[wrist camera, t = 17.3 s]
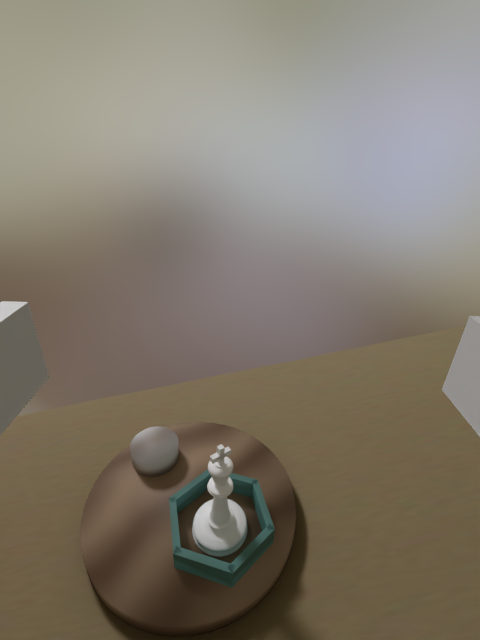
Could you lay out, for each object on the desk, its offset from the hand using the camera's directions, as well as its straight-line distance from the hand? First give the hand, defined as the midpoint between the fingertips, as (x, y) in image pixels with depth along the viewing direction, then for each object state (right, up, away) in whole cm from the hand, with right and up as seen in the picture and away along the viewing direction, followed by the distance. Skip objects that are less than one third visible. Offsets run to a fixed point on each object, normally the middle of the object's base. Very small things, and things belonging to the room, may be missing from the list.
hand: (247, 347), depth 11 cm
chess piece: (-2, -18, +20) cm, 27 cm away
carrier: (-5, -18, +23) cm, 29 cm away
